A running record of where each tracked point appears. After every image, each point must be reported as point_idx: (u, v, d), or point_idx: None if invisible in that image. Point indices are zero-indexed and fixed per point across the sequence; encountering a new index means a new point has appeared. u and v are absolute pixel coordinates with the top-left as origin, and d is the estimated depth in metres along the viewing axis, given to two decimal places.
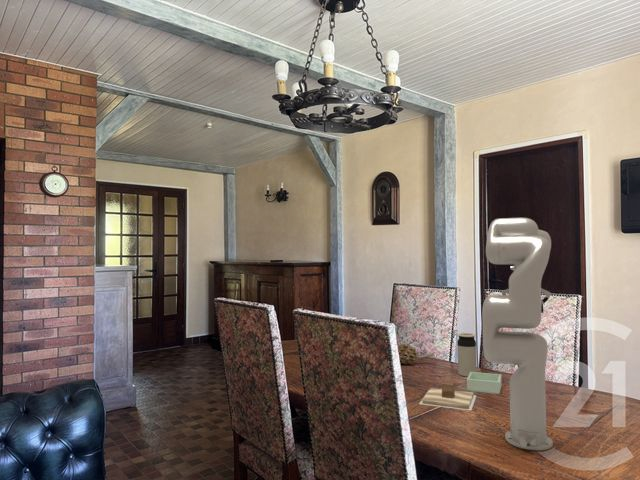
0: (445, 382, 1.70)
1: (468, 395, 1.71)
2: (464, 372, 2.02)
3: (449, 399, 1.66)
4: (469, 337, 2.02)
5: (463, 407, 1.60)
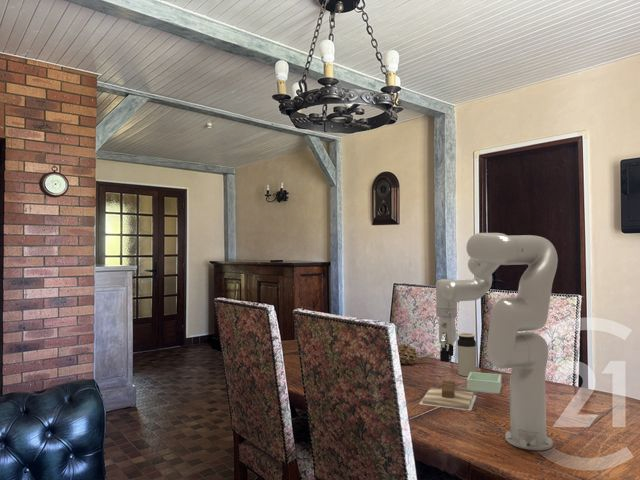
0: (445, 382, 1.70)
1: (468, 395, 1.71)
2: (464, 372, 2.02)
3: (449, 399, 1.66)
4: (469, 337, 2.02)
5: (463, 407, 1.60)
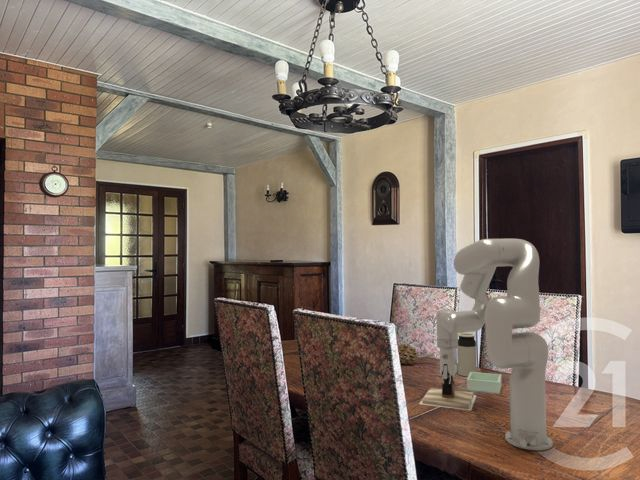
0: None
1: (467, 395, 1.71)
2: (464, 372, 2.02)
3: (449, 399, 1.66)
4: (469, 337, 2.02)
5: (463, 407, 1.60)
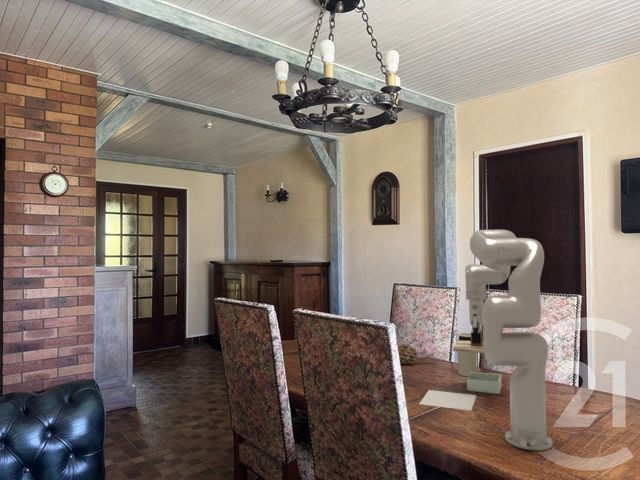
0: None
1: None
2: (464, 372, 2.02)
3: (478, 347, 1.78)
4: (469, 337, 2.02)
5: None
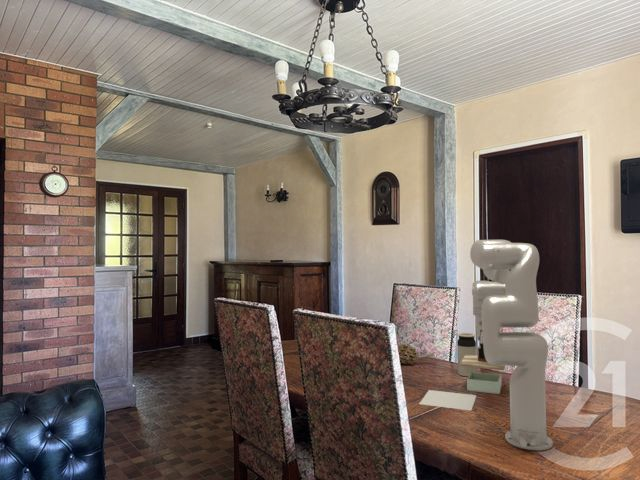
0: None
1: None
2: (464, 372, 2.02)
3: (485, 362, 1.80)
4: (469, 337, 2.02)
5: (499, 369, 1.74)
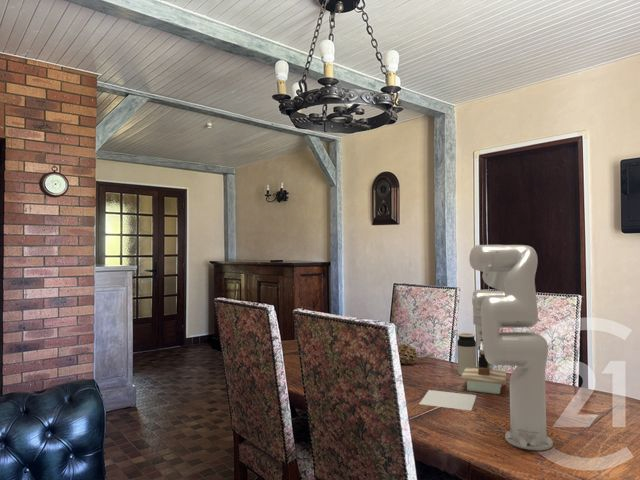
0: None
1: (502, 373, 1.84)
2: None
3: (485, 376, 1.80)
4: (469, 337, 2.02)
5: (499, 383, 1.74)
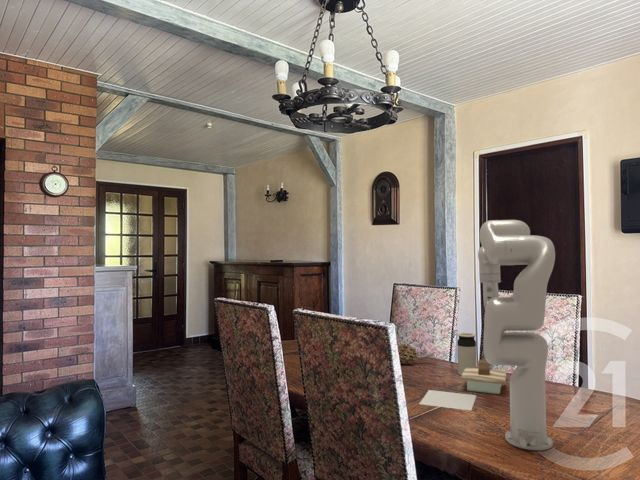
0: (481, 361, 1.84)
1: (502, 373, 1.84)
2: None
3: (485, 376, 1.80)
4: (469, 337, 2.02)
5: (499, 383, 1.74)
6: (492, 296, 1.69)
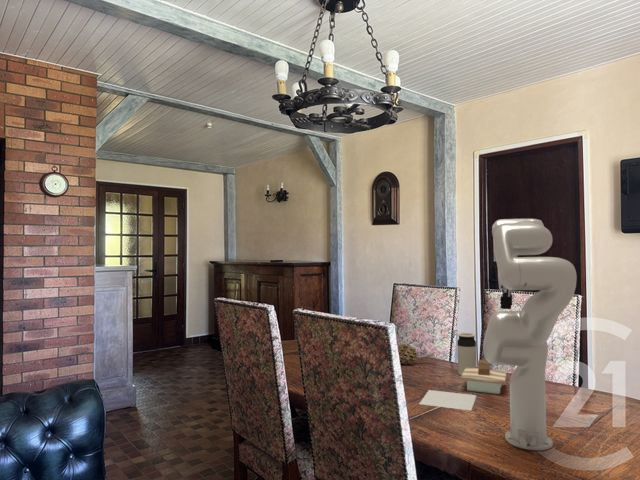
0: (481, 361, 1.84)
1: (502, 373, 1.84)
2: None
3: (485, 376, 1.80)
4: (469, 337, 2.02)
5: (499, 383, 1.74)
6: None
